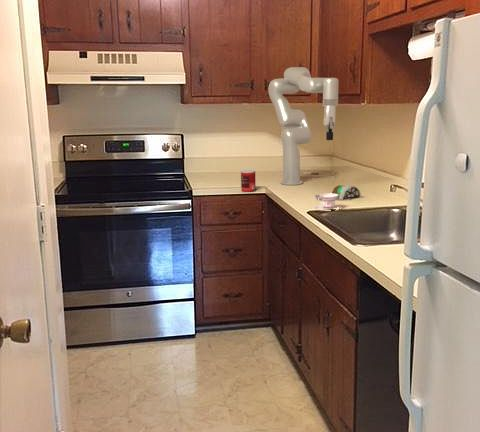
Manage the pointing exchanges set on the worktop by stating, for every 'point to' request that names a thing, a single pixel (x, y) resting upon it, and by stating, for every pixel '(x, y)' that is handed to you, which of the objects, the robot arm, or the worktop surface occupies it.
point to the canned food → (248, 181)
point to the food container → (346, 192)
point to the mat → (336, 198)
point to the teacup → (328, 201)
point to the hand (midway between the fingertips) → (329, 139)
